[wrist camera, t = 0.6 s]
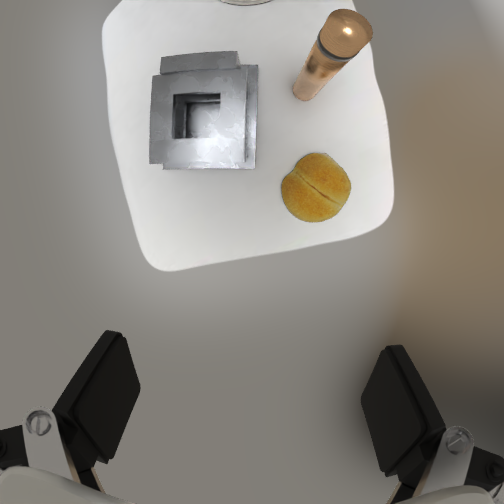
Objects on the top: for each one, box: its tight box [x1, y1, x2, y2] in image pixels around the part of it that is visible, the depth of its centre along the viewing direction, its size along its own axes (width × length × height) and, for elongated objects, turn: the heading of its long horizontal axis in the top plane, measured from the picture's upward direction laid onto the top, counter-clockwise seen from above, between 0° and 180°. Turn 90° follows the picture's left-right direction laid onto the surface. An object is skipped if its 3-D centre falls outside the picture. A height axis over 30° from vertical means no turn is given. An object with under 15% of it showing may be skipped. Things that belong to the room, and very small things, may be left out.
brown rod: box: [293, 9, 373, 101], centre depth 21 cm, size 3×3×20 cm
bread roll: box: [282, 153, 351, 222], centre depth 33 cm, size 8×9×4 cm
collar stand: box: [149, 51, 258, 169], centre depth 28 cm, size 14×12×8 cm
